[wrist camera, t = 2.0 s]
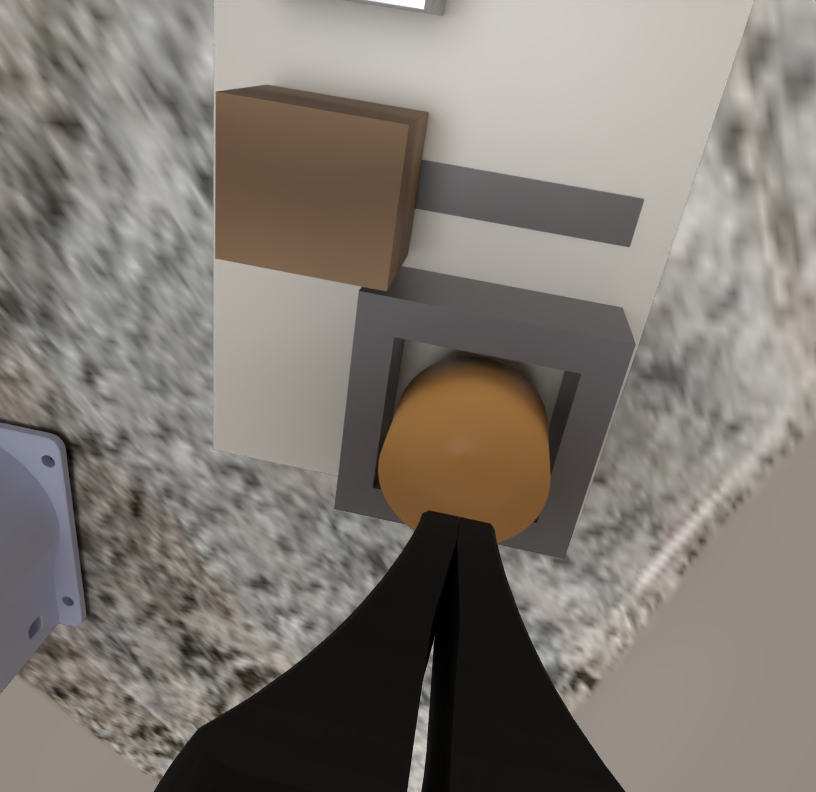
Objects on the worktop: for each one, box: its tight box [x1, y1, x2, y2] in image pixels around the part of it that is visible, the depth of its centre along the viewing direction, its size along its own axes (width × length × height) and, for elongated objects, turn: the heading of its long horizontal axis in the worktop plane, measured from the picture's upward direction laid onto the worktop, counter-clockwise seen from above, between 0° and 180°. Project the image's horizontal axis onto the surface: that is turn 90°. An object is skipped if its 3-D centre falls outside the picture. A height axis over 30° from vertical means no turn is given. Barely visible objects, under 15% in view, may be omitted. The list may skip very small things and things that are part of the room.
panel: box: [213, 0, 754, 559], centre depth 17 cm, size 17×12×4 cm
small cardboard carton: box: [215, 84, 429, 291], centre depth 16 cm, size 4×4×3 cm
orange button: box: [378, 356, 551, 543], centre depth 17 cm, size 4×4×2 cm
